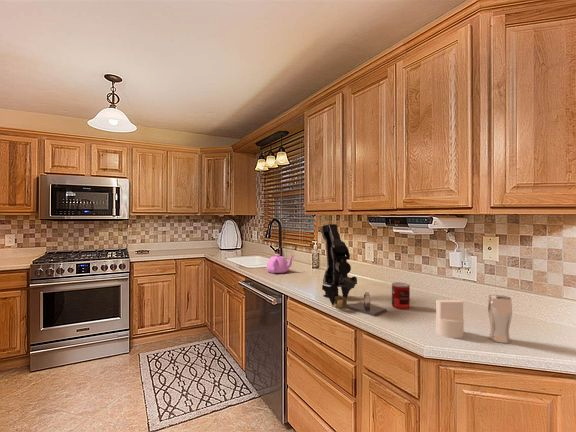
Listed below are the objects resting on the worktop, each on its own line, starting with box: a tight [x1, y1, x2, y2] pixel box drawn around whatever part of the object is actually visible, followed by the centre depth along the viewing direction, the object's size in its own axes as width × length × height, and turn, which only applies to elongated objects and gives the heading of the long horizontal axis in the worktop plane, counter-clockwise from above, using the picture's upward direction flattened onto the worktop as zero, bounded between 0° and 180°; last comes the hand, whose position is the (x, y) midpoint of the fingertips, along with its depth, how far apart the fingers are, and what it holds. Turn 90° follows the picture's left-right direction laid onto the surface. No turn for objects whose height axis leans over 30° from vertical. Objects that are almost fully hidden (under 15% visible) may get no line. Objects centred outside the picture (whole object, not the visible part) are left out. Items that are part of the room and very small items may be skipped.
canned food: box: [391, 281, 411, 310], centre depth 144 cm, size 8×8×11 cm
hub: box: [331, 295, 348, 309], centre depth 147 cm, size 7×7×4 cm
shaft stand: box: [347, 291, 388, 317], centre depth 140 cm, size 14×10×8 cm
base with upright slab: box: [435, 299, 465, 339], centre depth 112 cm, size 9×9×12 cm
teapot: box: [265, 253, 295, 274], centre depth 232 cm, size 22×22×14 cm
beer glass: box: [487, 294, 513, 344], centre depth 107 cm, size 7×7×15 cm
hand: (339, 302), depth 147 cm, fingers open, 9 cm apart
